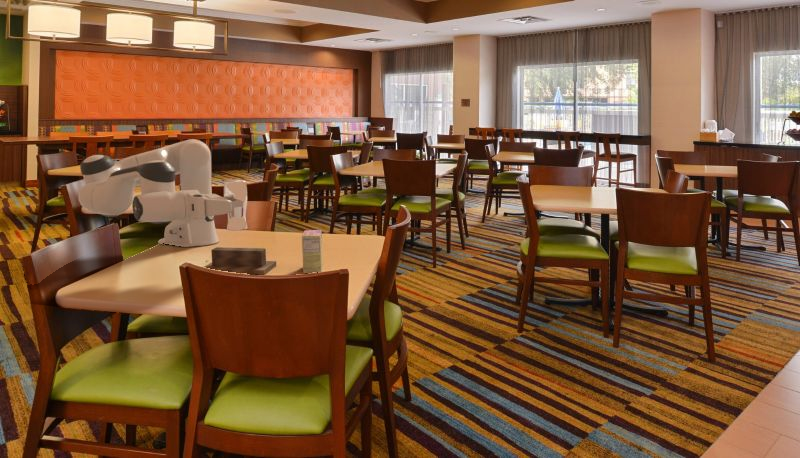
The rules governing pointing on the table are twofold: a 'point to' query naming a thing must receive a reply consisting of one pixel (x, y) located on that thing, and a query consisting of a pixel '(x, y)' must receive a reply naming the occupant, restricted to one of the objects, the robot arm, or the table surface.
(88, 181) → the robot arm
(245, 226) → the beer glass
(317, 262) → the box
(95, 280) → the table surface
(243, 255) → the ridge
